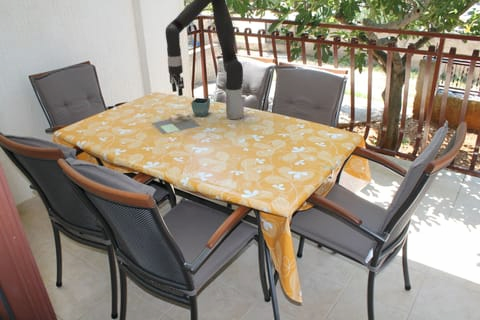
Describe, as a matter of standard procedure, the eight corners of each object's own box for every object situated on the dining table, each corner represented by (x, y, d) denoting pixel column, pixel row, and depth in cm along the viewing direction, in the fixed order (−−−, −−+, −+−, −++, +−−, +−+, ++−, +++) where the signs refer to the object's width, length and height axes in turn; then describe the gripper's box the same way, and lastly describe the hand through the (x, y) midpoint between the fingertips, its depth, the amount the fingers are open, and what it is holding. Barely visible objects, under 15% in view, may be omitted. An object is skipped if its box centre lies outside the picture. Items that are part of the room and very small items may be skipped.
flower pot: (191, 117, 236) (190, 102, 232) (197, 112, 243) (196, 97, 239) (205, 118, 233) (204, 103, 229) (211, 113, 241) (210, 98, 237)
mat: (187, 116, 237) (187, 115, 236) (201, 126, 222) (201, 125, 222) (151, 124, 227) (150, 122, 227) (163, 135, 212) (162, 134, 212)
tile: (186, 117, 234) (186, 112, 232) (190, 119, 230) (189, 114, 229) (170, 120, 229) (169, 115, 228) (173, 123, 226) (173, 118, 224)
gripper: (187, 65, 211) (189, 95, 219) (176, 60, 222) (178, 89, 230) (173, 67, 208) (176, 98, 215) (163, 62, 219) (166, 91, 226)
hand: (177, 93), depth 223 cm, fingers open, 8 cm apart
